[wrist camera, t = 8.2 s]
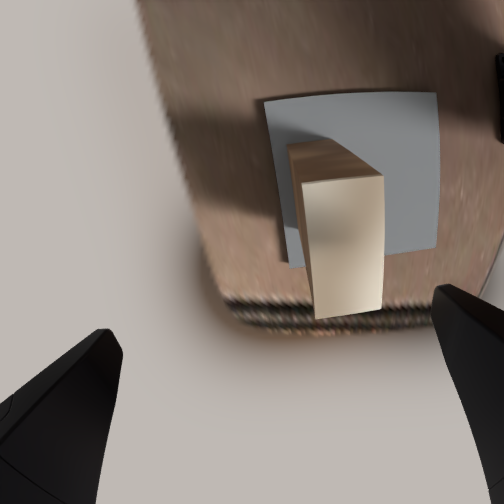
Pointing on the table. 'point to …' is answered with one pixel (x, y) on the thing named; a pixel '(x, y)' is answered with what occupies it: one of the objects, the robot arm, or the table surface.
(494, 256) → the table surface
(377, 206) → the slab
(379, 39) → the table surface
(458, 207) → the table surface
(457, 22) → the table surface
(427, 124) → the mat
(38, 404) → the robot arm
